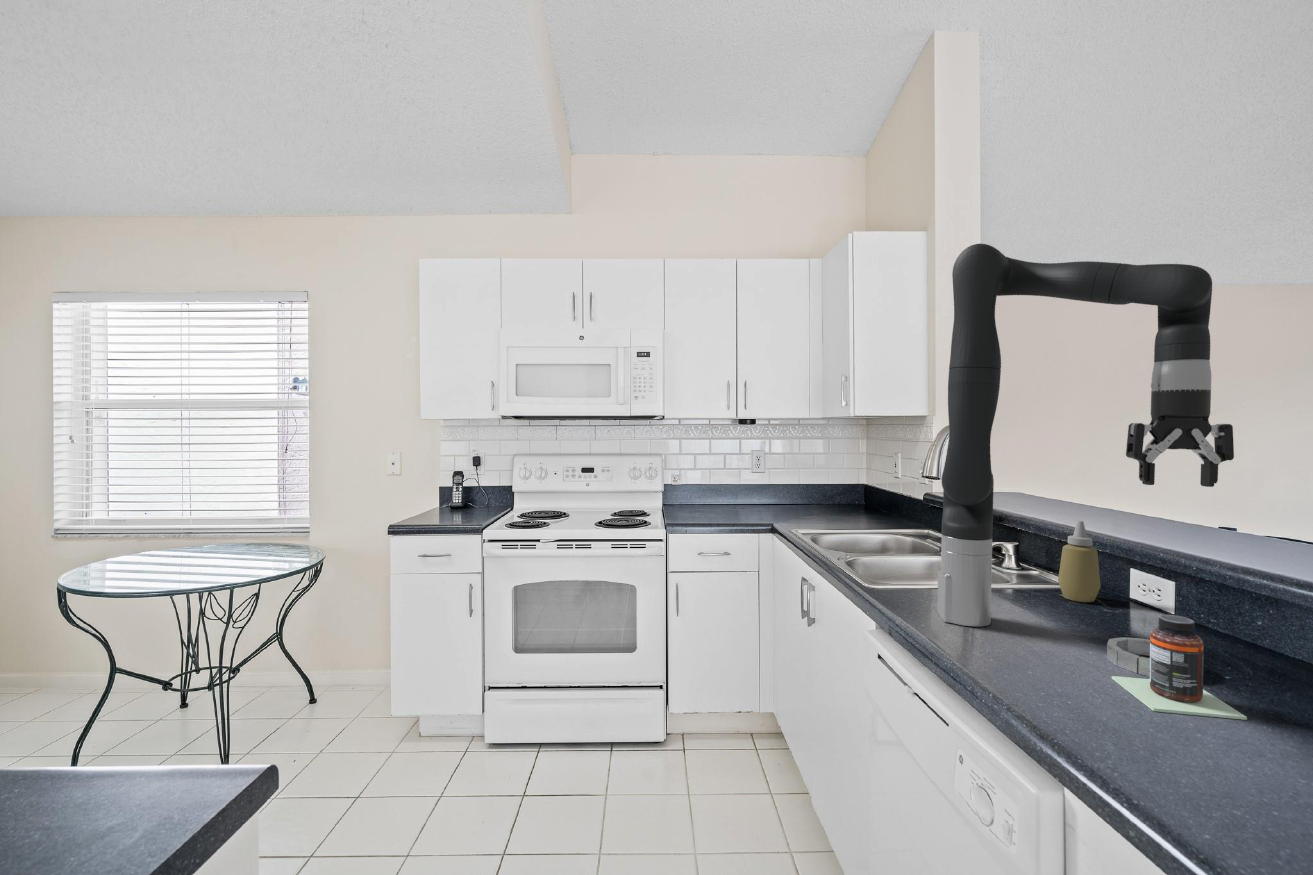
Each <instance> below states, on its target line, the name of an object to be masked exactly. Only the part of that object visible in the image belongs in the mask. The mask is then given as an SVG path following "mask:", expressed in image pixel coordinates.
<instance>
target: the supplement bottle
mask: <svg viewBox="0 0 1313 875" xmlns="http://www.w3.org/2000/svg"><path fill="white" fill-rule="evenodd" d="M1195 625H1196V623H1195V621H1194V620H1193V619H1191V618H1188V617H1185V616H1181V615H1177V614H1176V615H1174V614H1161V615H1159V616H1158V626H1157V627H1156V628H1154V629H1152V630H1151V632H1150V636H1149V638H1150V639H1149V640H1150V656H1149V658H1150V676H1149V679H1150V687H1151V689H1152V690H1153V691H1154V692H1155V693H1157V694H1159V695H1161V696H1163V697H1166V698H1169V699H1173V700H1177V701H1182V702H1197V701H1200V700H1202V697H1203V690H1204V655H1205V654H1204V652H1205V651H1204V641H1203V639H1202V637H1201V636H1199V635H1198V634H1196V628H1195V627H1196V626H1195Z"/></svg>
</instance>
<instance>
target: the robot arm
mask: <svg viewBox="0 0 1313 875" xmlns="http://www.w3.org/2000/svg"><path fill="white" fill-rule="evenodd" d="M951 278H952V290H953V291H952V292H953V326H952V335H951V341H950V342H951V346H950V355H949V356H950V358H949V365H948V379H947V380H948V381H947V411H948V412H947V413H948V429H949V431H948V433H949V434H948V443H947V449H946V456H945V461H944V467H943V471H942V474H941V487H942V489H943V492H942V493H943V494H942V502H943V503H942V504H943V505H942V515H941V516H942V518H941V519H942V520H941V548H940V549H941V550H940V552H941V556H940V560H941V561H940V568H938V570H937V614H938V616H939V617H940V618H941V620H942V621H943V622H944V623H951V624H955V625H960V626H965V627H966V626H967V627H977V628H978V627H987V626H989V625H991V624H992V623H991V621H992V620H991V619H992V578H993V577H992V570H993V568H992V565H993V529H994V526H993V525H994V484H995V482H994V474H993V472H992V460H991V456H992V455H991V438H992V430H993V424H994V421H995V416H996V411H997V407H998V402H999V396H1000V395H999V394H1000V389H1001V388H1000V386H1001V385H1000V384H1001V375H1002V374H1001V372H1002V354H1001V348H1000V341H999V334H998V330H997V326H996V325H997V323H996V305H997V297H999V296H1000V297H1003V296H1004V297H1005V296H1033V297H1034V296H1036V297H1037V296H1038V297H1048V298H1055V299H1056V298H1058V299H1064V300H1071V301H1072V300H1073V301H1080V302H1089V303H1094V304H1095V303H1097V304H1106V305H1107V304H1108V305H1117V306H1118V305H1119V306H1120V305H1121V306H1122V305H1129V304H1136V305H1137V304H1140V305H1147V306H1148V305H1150V306H1156V307H1157V332H1156V334H1155V339H1154V351H1153V352H1154V353H1153V354H1154V356H1153V357H1154V358H1153V368H1152V373H1151V383H1150V388H1151V390H1150V391H1151V392H1150V394H1151V396H1150V418H1151V420H1150V423H1149V424H1144V423H1142V422H1136V423H1135V422H1133V423H1132V422H1131V423H1129V424H1128V429H1127V440H1126V451H1125V456H1126V457H1127V458H1128V459H1132V460H1136V461H1137V462H1138V479H1139V481H1140V482H1141V483H1142V484H1143V485H1146V486H1154V485H1155V476H1156V475H1155V474H1156V463H1155V460H1156V459H1157V458H1158V457H1159V456H1160V455H1161V454H1163V453H1164V452H1165V451H1167V450H1187V451H1188V450H1191V451H1192V452H1193V453H1194V454H1196V455H1197V456H1198V457H1199V459H1200V460H1201V461H1202V462H1203V463H1200V481H1199V482H1200V486H1201V487H1207V488H1213V487H1215V484H1217V483H1218V480H1219V465H1220V464H1222V463H1223V462H1227V461H1232V460H1233V459H1234V457H1235V455H1234V454H1235V450H1234V447H1235V446H1234V427H1233V425H1232V424H1230V423H1217V424H1211V423H1210V421H1209V417H1210V416H1211V400H1212V398H1211V397H1212V369H1211V361H1210V360H1211V334H1210V329H1209V325H1210V316H1211V306H1212V295H1213V279H1212V277H1211V274H1210V272H1208V271H1207V270H1206V269H1204V268H1202V267H1200V266H1197V265H1193V264H1185V263H1183V264H1182V263H1180V264H1179V263H1155V264H1154V263H1153V264H1149V263H1148V264H1130V263H1125V262H1124V263H1122V262H1108V261H1091V260H1090V261H1087V260H1086V261H1085V260H1083V261H1082V260H1081V261H1068V262H1055V263H1053V262H1052V263H1051V262H1048V263H1047V262H1046V263H1045V262H1043V263H1042V262H1032V261H1025V260H1020V259H1016V258H1011V257H1008V256H1005V254H1004V253H1002V252H1001V250H999V249H997V248H996V247H994V246H993V245H990V244H986V243H975V244H972V245H970V246H968V247H966V248H965V249H962V251H961V252H960V253H959V255H958V256H957V257H956V259H955V261H954V264H953V266H952V277H951ZM1148 433H1150V434H1149V435H1151V436H1152V437H1153V438H1152V439H1150V441H1149V442H1148V443H1147V444H1146V445H1145V447H1144V438H1145V437H1146V436H1147V435H1148ZM1209 434H1210V435H1211V436H1212V437H1214V439H1213V440H1214V441H1213V443H1214V444H1213V445H1214V446H1212V444H1210V442H1209V440H1207V439H1206V438H1207V437H1208V435H1209ZM1143 449H1144V450H1143Z"/></svg>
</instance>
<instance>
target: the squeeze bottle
mask: <svg viewBox="0 0 1313 875" xmlns="http://www.w3.org/2000/svg"><path fill="white" fill-rule="evenodd" d="M1076 521H1077V522H1076V524H1075V528H1074V531H1073V535H1068V536H1067V544H1065V545H1063V546H1062V550H1061V558H1060V562H1059V570H1058V571H1059V572H1058V578H1057V579H1058V580H1057V582H1058V584H1059V587H1060V590H1061V593H1062V596H1063V598H1064V599H1067V600H1070V601H1074V602H1079V603H1093V602H1095V600H1096V598H1097V596H1098V594H1099V592H1100V589H1101V576H1100V567H1099V566H1100V565H1099V555H1098V549H1097V548H1095V547H1093V538H1092V537H1090V536H1088V535H1087V531H1086V528H1085V522H1084V521H1082V520H1081V521H1080V520H1076Z"/></svg>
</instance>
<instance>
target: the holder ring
mask: <svg viewBox="0 0 1313 875" xmlns="http://www.w3.org/2000/svg"><path fill="white" fill-rule="evenodd" d="M1145 656H1147V657H1145ZM1106 659H1107V660H1108V661H1109V662H1111V663H1112V664H1114V665H1115V666H1117V667H1119V668H1122V669H1125V670H1127V671H1130V672H1133V673H1135V674H1138V675H1141V676H1142V675H1143V676H1147V677H1150V639H1146V638H1139V637H1138V638H1137V637H1125V636H1124V637H1115V638H1109V639H1108V641H1107V644H1106Z"/></svg>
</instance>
